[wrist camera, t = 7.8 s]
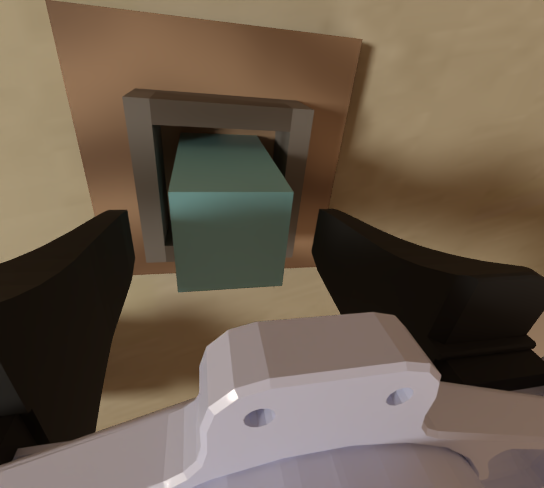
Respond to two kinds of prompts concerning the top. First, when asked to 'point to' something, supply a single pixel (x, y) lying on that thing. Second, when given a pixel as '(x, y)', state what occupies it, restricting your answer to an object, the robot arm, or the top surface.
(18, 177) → the top surface
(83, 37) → the end holder
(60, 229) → the top surface
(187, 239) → the block
